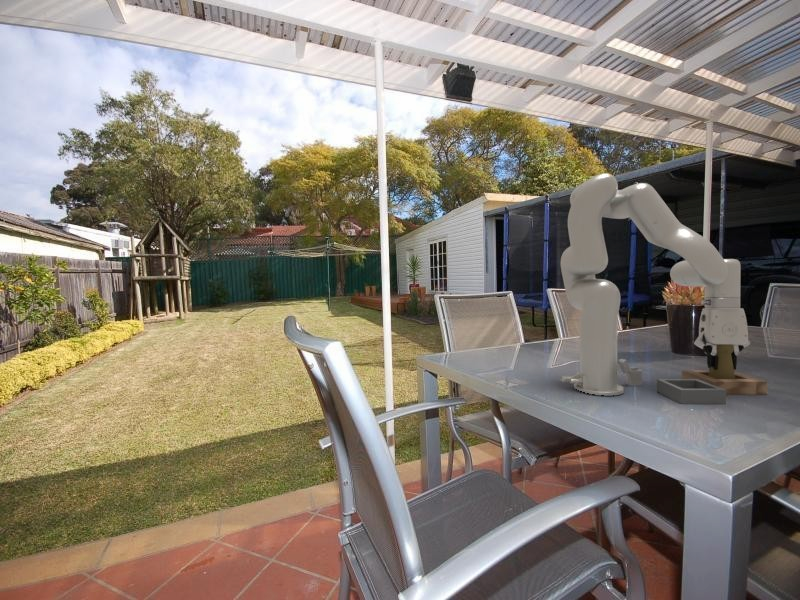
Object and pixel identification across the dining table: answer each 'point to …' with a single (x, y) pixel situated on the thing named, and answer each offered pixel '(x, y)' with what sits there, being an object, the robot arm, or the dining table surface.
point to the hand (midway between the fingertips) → (721, 367)
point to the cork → (723, 363)
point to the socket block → (730, 382)
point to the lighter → (631, 373)
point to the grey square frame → (691, 391)
